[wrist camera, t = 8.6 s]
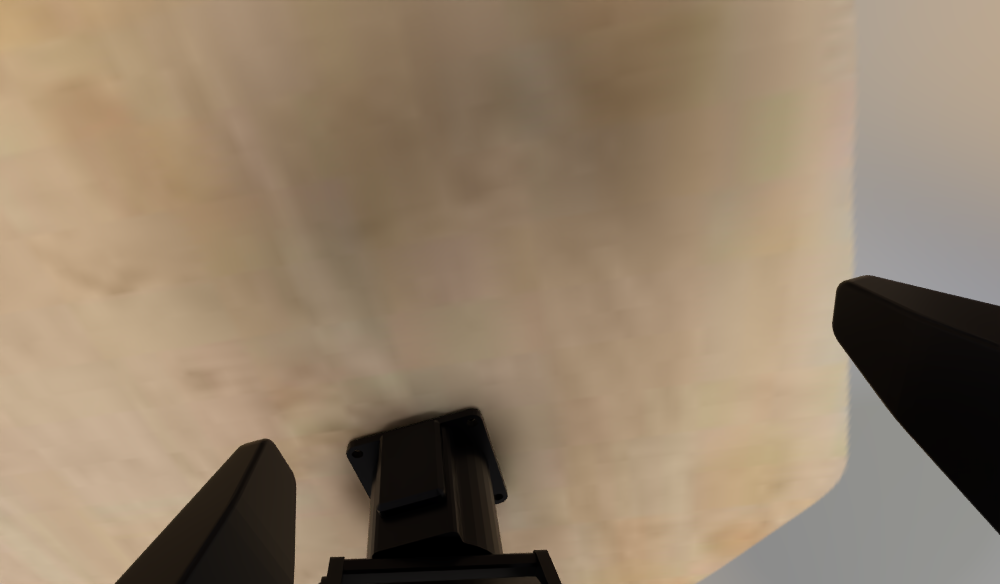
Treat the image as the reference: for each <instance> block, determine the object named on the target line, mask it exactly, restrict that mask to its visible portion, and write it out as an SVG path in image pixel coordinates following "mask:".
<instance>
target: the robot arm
mask: <svg viewBox="0 0 1000 584" xmlns="http://www.w3.org/2000/svg"><path fill="white" fill-rule="evenodd" d="M832 327H833V332H834V335H835V337H836V339H837V341H838V342H839V343H840V345H841V346H842V347H843V349H844V350H845V352H846V353H847V354H848V356H849V357H850V358H851V360H852V361H853V362H854V364H855V365H856V367H857V368H858V369H859V371H860V372H861V373H862V375H863V376H864V378H865V379H866V380H867V382H868V383H869V384H870V386H871V387H872V388H873V390H874V391H875V393H876V394H877V395H878V397H879V398H880V399H881V401H882V402H883V403H884V405H885V406H886V407H887V409H888V410H889V411H890V412H891V414H892V415H893V416H894V418H895V419H896V420H897V421H898V422H899V423H900V425H901V426H902V427H903V428H904V429H905V430H906V432H907V433H908V434H909V435H910V436H911V437H912V438H913V439H914V440H915V441H916V443H917V444H918V445H919V446H920V447H921V448H922V449H923V450H924V452H925V453H926V454H927V455H928V456H929V457H930V458H931V459H932V460H933V462H934V463H935V464H936V465H937V466H938V467H939V468H940V469H941V470H942V471H943V472H944V474H945V475H946V476H947V477H948V478H949V479H950V480H951V481H952V482H953V484H954V485H955V486H956V487H957V488H958V489H959V490H960V491H961V492H962V493H963V495H964V496H965V497H966V498H967V499H968V500H969V501H970V502H971V504H972V505H973V506H974V507H975V508H976V509H977V510H978V511H979V512H980V514H981V515H982V516H983V517H984V518H985V519H986V520H987V521H988V522H989V523H990V525H991V526H992V527H993V528H994V529H995V530H996V531H997V532H998V533H999V535H1000V306H997V305H993V304H989V303H985V302H980V301H976V300H972V299H968V298H964V297H959V296H955V295H951V294H947V293H943V292H938V291H934V290H930V289H926V288H922V287H917V286H913V285H909V284H905V283H901V282H896V281H892V280H888V279H884V278H880V277H875V276H870V275H865V276H860V277H857V278H853V279H849V280H846V281H843V282H842V283H840V284H839V286H838V287H837V290H836V297H835V305H834V313H833V321H832ZM469 419H475V420H473V421H468V420H469ZM355 450H360V451H359V452H357V451H355ZM346 454H347V458H348V459H349V461H350V463H351V465H352V467H353V469H354V470H355V472H356V474H357V476H358V478H359V479H360V481H361V483H362V485H363V487H364V489H365V490H366V492H367V494H368V496H369V498H370V500H371V501H370V516H369V530H368V544H367V559H345V557H330V561H329V567H328V573H327V576H325V577H322V579H321V582H320V583H319V584H562V583H561V581H560V579H559V576H558V574H557V572H556V570H555V567H554V565H553V563H552V560H551V558H550V556H549V553H548V551H547V550H534V551H533V553H510V554H503V550H502V544H501V538H500V532H499V526H498V519H497V513H496V507H495V504H499V503H502V502H504V501H505V500H506V499H507V497H508V496H507V490H506V486H505V483H504V480H503V477H502V474H501V471H500V468H499V465H498V462H497V459H496V456H495V453H494V450H493V447H492V444H491V441H490V438H489V435H488V432H487V429H486V426H485V423H484V420H483V417H482V414H481V413H480V411H478V410H476V409H468V410H464V411H460V412H457V413H453V414H449V415H446V416H442V417H438V418H435V419H431V420H428V421H424V422H420V423H417V424H413V425H409V426H406V427H402V428H398V429H395V430H391V431H387V432H384V433H380V434H376V435H373V436H369V437H365V438H362V439H358V440H354V441H352V442H350V443H349V444H348V447H347V453H346ZM295 520H296V481H295V477H294V474H293V472H292V470H291V469H290V467H289V465H288V464H287V462H286V461H285V459H284V458H283V456H282V454H281V453H280V451H279V450H278V448H277V447H276V445H275V444H274V443H273V441H271V440H270V439H261V440H257V441H254V442H250V443H246V444H244V445H242V446H240V447H239V448H238V449H237V450H236V451H235V452H234V453H233V454H232V455H231V457H230V458H229V459H228V460H227V461H226V462H225V463H224V464H223V465H222V466H221V468H220V469H219V470H218V471H217V472H216V473H215V474H214V475H213V476H212V477H211V479H210V480H209V481H208V482H207V483H206V484H205V485H204V486H203V487H202V488H201V490H200V491H199V492H198V493H197V494H196V495H195V496H194V497H193V498H192V499H191V500H190V502H189V503H188V504H187V505H186V506H185V507H184V508H183V509H182V510H181V511H180V513H179V514H178V515H177V516H176V517H175V518H174V519H173V520H172V521H171V522H170V524H169V525H168V526H167V527H166V528H165V529H164V530H163V531H162V532H161V533H160V535H159V536H158V537H157V538H156V539H155V540H154V541H153V542H152V543H151V544H150V545H149V547H148V548H147V549H146V550H145V551H144V552H143V553H142V554H141V555H140V556H139V558H138V559H137V560H136V561H135V562H134V563H133V564H132V565H131V566H130V567H129V569H128V570H127V571H126V572H125V573H124V574H123V575H122V576H121V577H120V578H119V579H118V581H117V582H116V583H115V584H294V564H295Z"/></svg>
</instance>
